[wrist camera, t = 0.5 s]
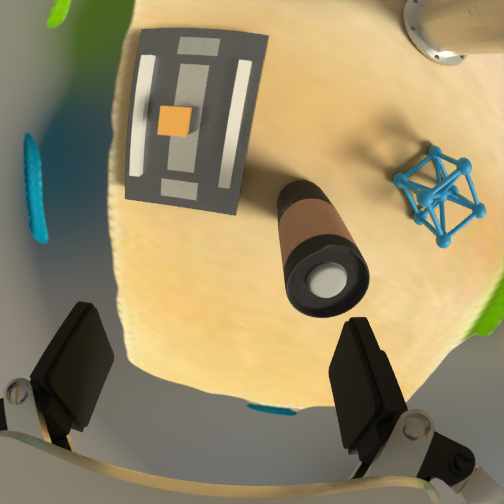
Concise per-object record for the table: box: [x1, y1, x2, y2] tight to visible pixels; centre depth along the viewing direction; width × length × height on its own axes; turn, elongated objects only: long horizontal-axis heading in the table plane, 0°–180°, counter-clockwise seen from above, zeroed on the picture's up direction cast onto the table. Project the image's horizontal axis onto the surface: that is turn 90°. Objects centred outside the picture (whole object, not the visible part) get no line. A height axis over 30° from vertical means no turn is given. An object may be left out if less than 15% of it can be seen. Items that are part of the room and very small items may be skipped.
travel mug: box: [277, 181, 370, 318], centre depth 32 cm, size 8×8×20 cm
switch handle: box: [157, 106, 200, 137], centre depth 29 cm, size 3×3×5 cm
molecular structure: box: [393, 146, 486, 248], centre depth 34 cm, size 10×10×10 cm
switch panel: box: [125, 28, 269, 216], centre depth 33 cm, size 24×16×5 cm, turn 170°
